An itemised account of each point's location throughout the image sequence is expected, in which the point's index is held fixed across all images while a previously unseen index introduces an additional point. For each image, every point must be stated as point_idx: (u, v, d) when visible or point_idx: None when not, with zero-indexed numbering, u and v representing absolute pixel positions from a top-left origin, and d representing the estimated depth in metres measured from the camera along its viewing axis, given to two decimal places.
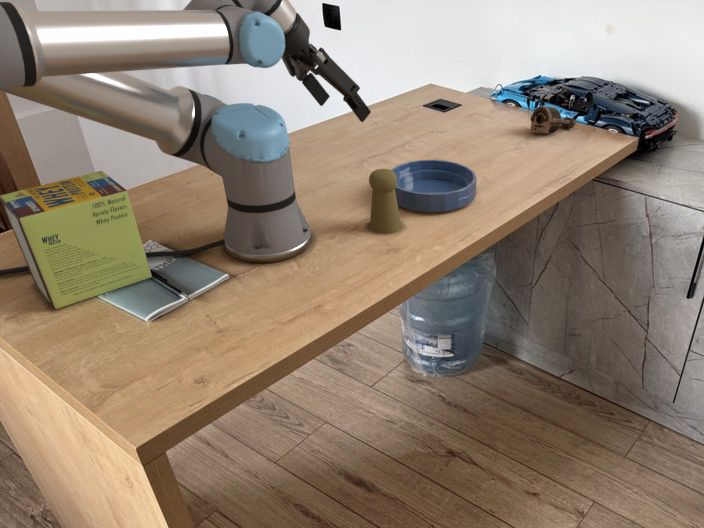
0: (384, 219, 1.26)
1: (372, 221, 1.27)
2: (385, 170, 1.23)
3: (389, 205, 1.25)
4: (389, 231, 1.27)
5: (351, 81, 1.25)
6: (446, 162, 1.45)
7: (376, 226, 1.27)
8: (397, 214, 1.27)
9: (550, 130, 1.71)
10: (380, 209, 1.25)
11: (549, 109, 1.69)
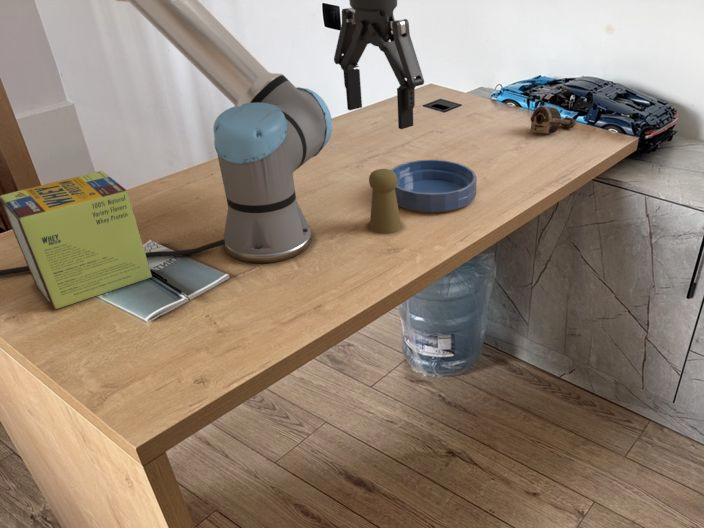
0: (384, 219, 1.26)
1: (372, 221, 1.27)
2: (385, 170, 1.23)
3: (389, 205, 1.25)
4: (389, 231, 1.27)
5: (419, 70, 1.07)
6: (446, 162, 1.45)
7: (376, 226, 1.27)
8: (397, 214, 1.27)
9: (550, 130, 1.71)
10: (380, 209, 1.25)
11: (549, 109, 1.69)
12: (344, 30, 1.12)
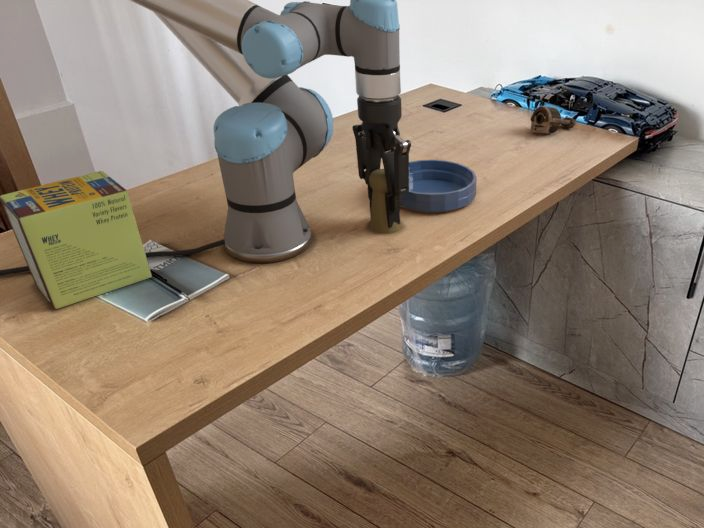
0: (384, 219, 1.26)
1: (372, 221, 1.27)
2: None
3: None
4: (389, 231, 1.27)
5: (407, 182, 1.21)
6: (446, 162, 1.45)
7: (376, 226, 1.27)
8: None
9: (550, 130, 1.71)
10: (380, 209, 1.25)
11: (549, 109, 1.69)
12: (359, 144, 1.22)
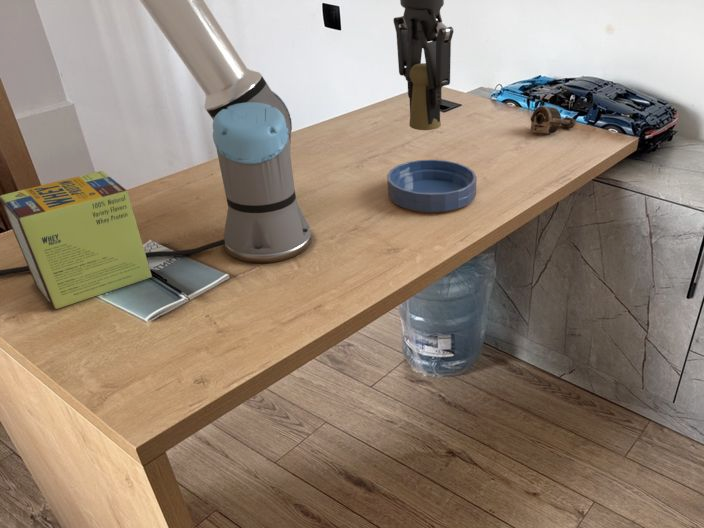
0: (424, 115, 1.25)
1: (412, 118, 1.27)
2: None
3: None
4: (429, 128, 1.27)
5: (448, 73, 1.20)
6: (446, 162, 1.45)
7: (416, 123, 1.27)
8: None
9: (550, 130, 1.71)
10: (420, 104, 1.25)
11: (549, 109, 1.69)
12: (400, 37, 1.22)
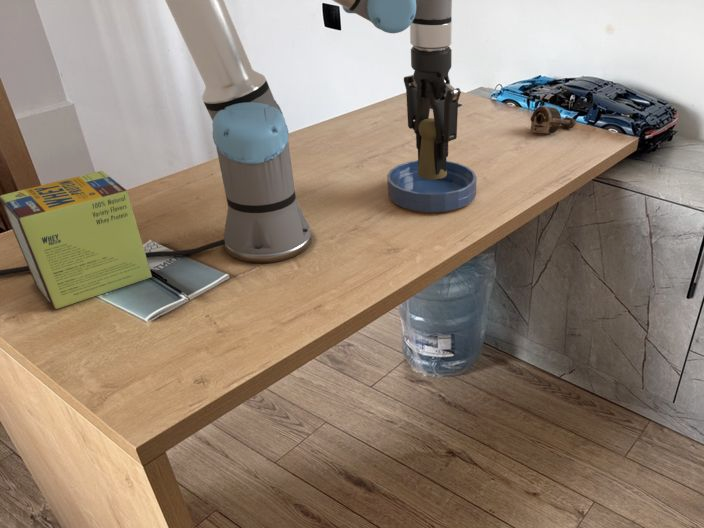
0: (432, 166, 1.34)
1: (420, 168, 1.36)
2: None
3: None
4: (436, 177, 1.36)
5: (455, 129, 1.29)
6: (446, 162, 1.45)
7: (424, 173, 1.35)
8: None
9: (550, 130, 1.71)
10: (428, 156, 1.33)
11: (549, 109, 1.69)
12: (409, 94, 1.31)
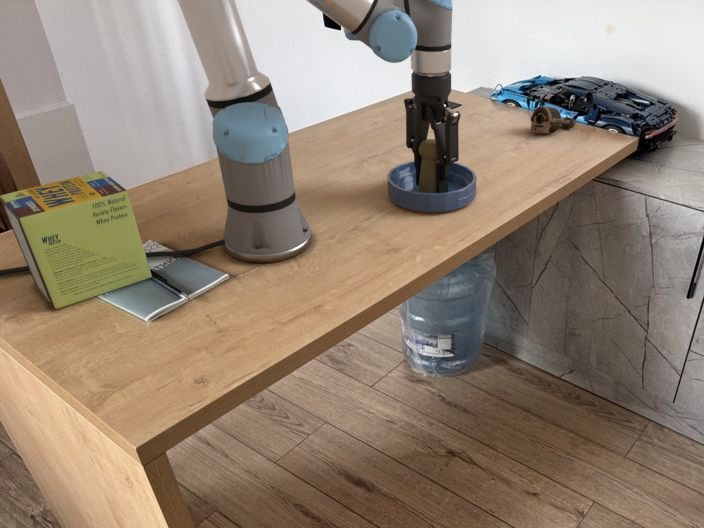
0: (432, 186, 1.37)
1: (421, 188, 1.38)
2: (434, 140, 1.34)
3: None
4: None
5: (457, 152, 1.31)
6: None
7: None
8: None
9: (550, 130, 1.71)
10: (429, 176, 1.36)
11: (549, 109, 1.69)
12: (409, 116, 1.34)
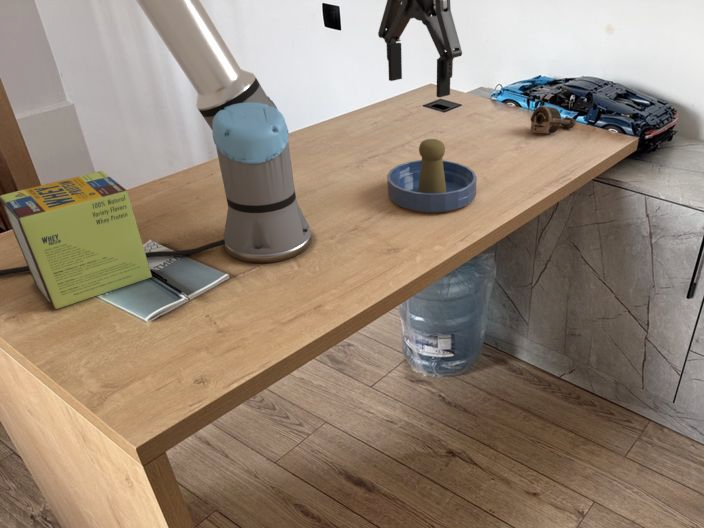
0: (432, 186, 1.37)
1: (421, 188, 1.38)
2: (434, 140, 1.34)
3: (437, 172, 1.36)
4: None
5: (458, 43, 1.18)
6: (446, 162, 1.45)
7: None
8: (444, 181, 1.38)
9: (550, 130, 1.71)
10: (429, 176, 1.36)
11: (549, 109, 1.69)
12: (389, 6, 1.23)
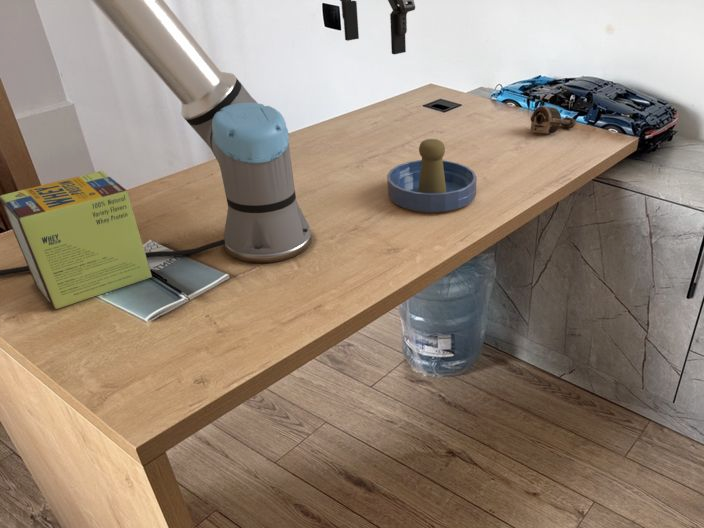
0: (432, 186, 1.37)
1: (421, 188, 1.38)
2: (434, 140, 1.34)
3: (437, 172, 1.36)
4: None
5: None
6: (446, 162, 1.45)
7: None
8: (444, 181, 1.38)
9: (550, 130, 1.71)
10: (429, 176, 1.36)
11: (549, 109, 1.69)
12: None
